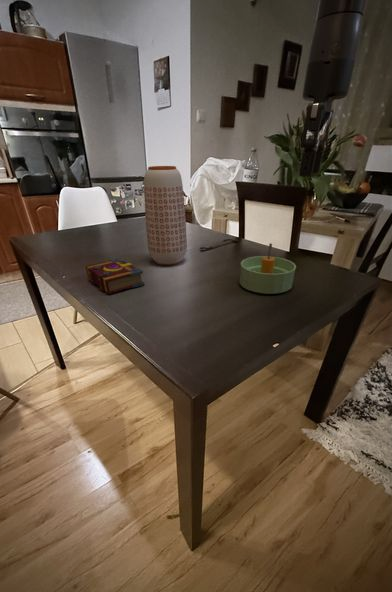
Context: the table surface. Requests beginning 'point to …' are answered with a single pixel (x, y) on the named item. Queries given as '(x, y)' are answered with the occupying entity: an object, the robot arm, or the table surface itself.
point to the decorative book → (114, 275)
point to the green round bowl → (267, 275)
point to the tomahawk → (220, 244)
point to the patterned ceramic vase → (165, 215)
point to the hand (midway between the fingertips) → (309, 174)
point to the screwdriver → (268, 263)
